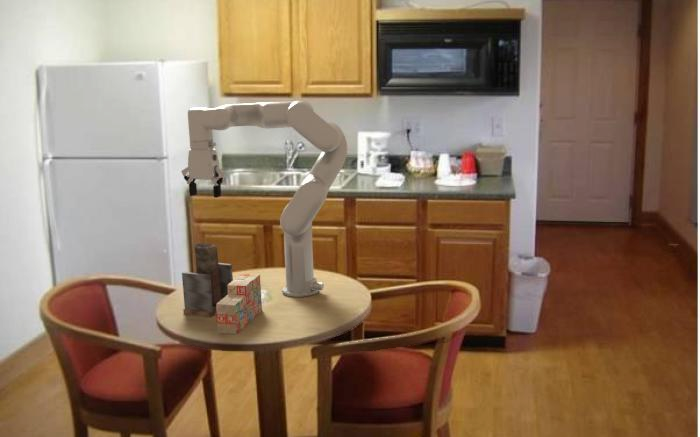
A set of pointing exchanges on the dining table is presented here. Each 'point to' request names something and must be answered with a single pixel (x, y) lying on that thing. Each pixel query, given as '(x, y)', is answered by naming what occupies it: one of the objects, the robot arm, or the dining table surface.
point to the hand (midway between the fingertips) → (205, 196)
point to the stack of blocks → (239, 304)
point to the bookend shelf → (204, 291)
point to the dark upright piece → (209, 267)
